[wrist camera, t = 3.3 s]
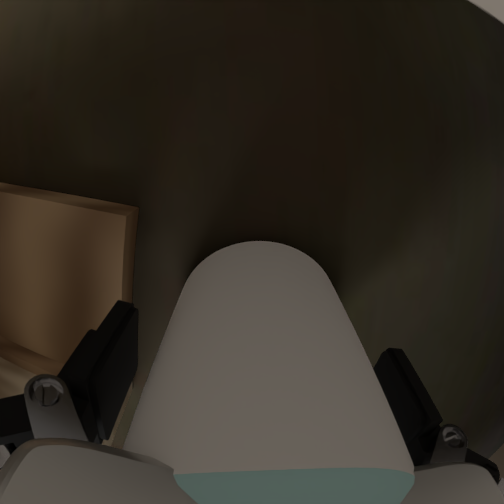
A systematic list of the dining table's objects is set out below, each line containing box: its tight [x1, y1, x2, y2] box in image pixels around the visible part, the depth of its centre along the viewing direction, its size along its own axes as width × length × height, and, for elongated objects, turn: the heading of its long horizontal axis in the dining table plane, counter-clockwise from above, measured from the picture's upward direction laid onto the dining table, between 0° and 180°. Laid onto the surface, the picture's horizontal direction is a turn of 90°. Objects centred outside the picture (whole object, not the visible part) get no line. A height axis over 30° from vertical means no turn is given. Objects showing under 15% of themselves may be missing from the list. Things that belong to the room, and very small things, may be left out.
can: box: [122, 241, 415, 504], centre depth 9 cm, size 7×7×12 cm
